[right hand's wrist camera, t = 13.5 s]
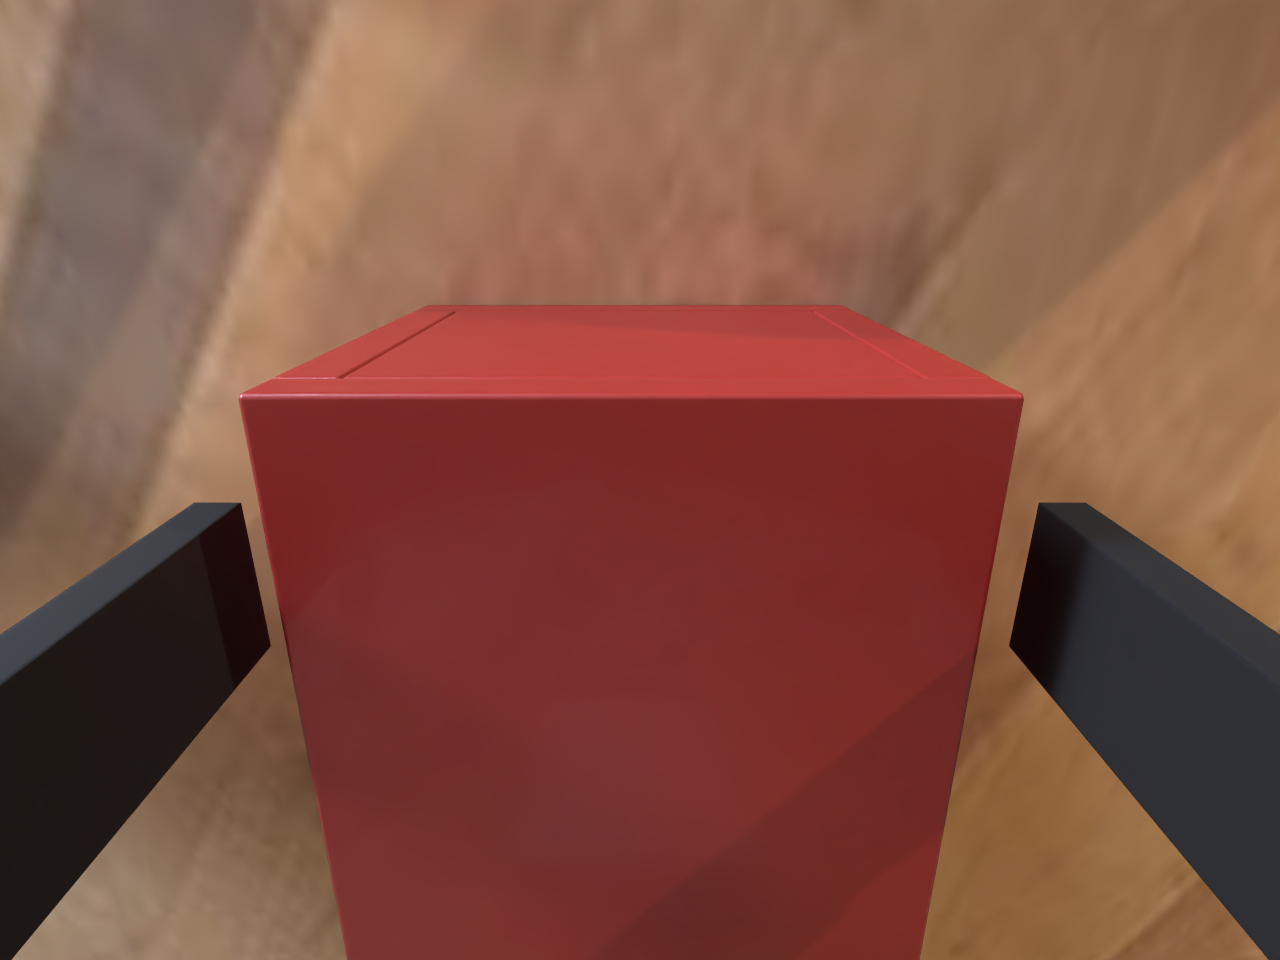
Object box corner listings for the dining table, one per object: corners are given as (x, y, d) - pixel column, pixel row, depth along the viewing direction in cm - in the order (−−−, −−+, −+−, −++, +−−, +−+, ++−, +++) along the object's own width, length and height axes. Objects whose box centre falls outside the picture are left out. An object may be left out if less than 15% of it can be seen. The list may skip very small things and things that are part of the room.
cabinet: (801, 745, 23) (900, 1072, 14) (469, 746, 23) (367, 1073, 14) (842, 304, 18) (1027, 393, 10) (426, 305, 18) (234, 393, 10)
